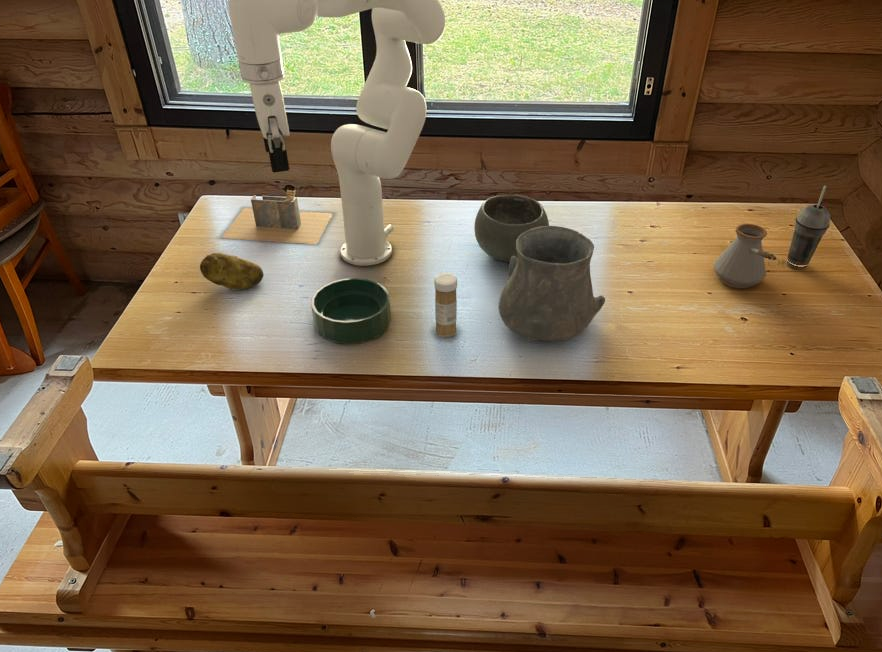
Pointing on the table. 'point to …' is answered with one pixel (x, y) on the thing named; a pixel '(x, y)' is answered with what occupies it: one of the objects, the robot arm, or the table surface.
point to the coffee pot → (744, 258)
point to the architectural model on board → (278, 221)
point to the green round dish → (351, 310)
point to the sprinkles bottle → (445, 304)
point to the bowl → (506, 223)
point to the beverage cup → (808, 233)
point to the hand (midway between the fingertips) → (277, 160)
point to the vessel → (550, 285)
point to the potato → (230, 271)
